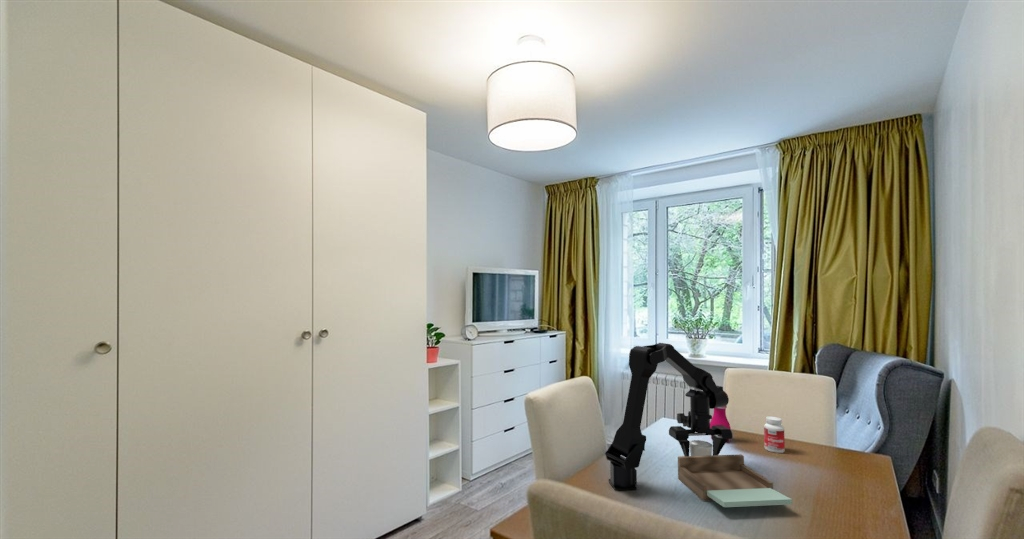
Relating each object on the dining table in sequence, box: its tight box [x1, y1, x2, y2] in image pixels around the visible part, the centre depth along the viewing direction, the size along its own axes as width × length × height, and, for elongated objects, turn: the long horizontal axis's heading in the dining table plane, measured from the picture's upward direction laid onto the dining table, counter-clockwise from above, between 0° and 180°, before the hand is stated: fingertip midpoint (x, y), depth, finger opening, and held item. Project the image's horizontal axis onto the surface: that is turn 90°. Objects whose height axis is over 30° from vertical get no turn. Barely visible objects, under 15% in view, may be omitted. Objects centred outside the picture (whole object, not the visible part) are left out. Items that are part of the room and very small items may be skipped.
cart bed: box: [677, 453, 774, 502], centre depth 126 cm, size 20×14×6 cm
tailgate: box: [707, 488, 793, 508], centre depth 114 cm, size 18×1×8 cm
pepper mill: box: [710, 391, 732, 443], centre depth 167 cm, size 7×7×20 cm
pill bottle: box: [763, 416, 786, 454], centre depth 156 cm, size 6×6×11 cm
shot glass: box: [689, 439, 713, 456], centre depth 142 cm, size 7×7×7 cm
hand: (700, 459), depth 142 cm, fingers open, 9 cm apart
